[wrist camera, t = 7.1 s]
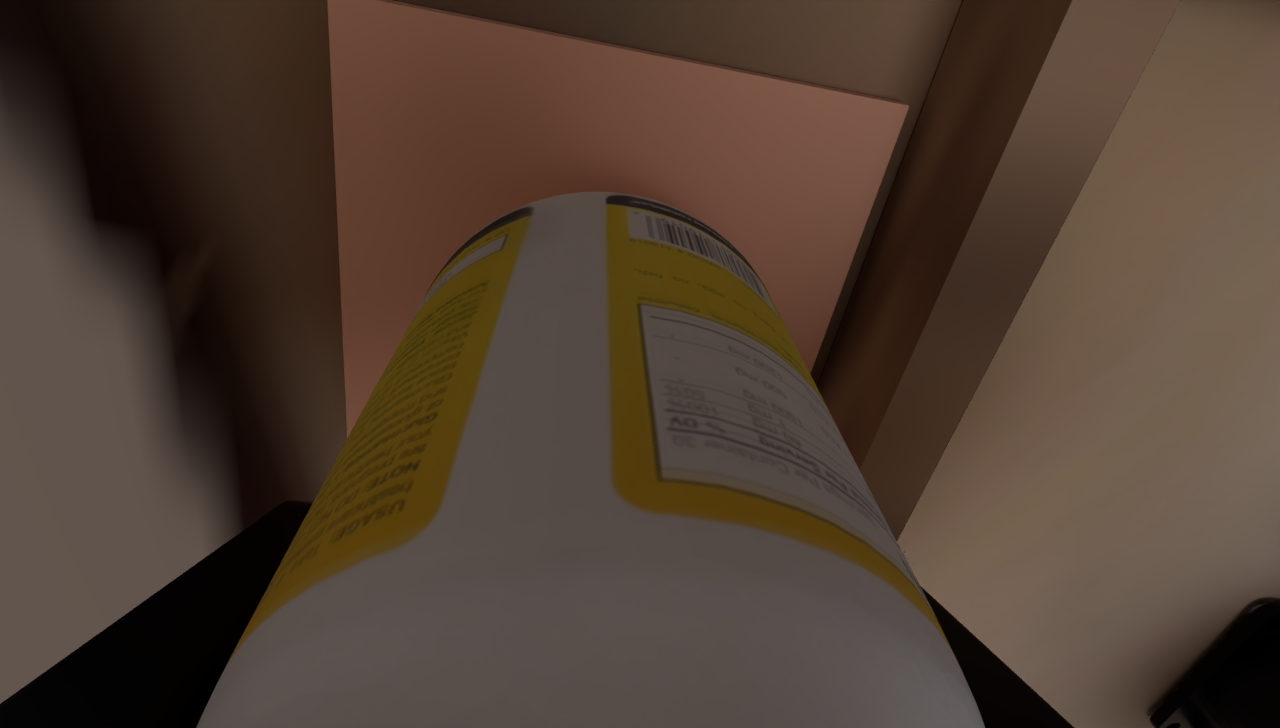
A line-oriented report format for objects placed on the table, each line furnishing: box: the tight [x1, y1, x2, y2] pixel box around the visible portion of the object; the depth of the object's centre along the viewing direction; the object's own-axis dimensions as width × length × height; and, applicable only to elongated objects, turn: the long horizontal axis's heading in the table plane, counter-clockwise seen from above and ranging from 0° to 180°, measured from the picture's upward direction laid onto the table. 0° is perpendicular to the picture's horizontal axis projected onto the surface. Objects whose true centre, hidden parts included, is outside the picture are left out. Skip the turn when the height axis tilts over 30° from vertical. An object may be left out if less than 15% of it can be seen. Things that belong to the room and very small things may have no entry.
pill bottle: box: [196, 192, 985, 728], centre depth 8 cm, size 6×6×12 cm
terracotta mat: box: [327, 0, 909, 438], centre depth 14 cm, size 10×10×1 cm
